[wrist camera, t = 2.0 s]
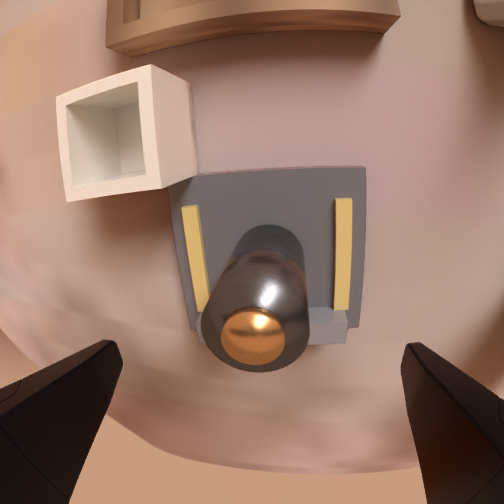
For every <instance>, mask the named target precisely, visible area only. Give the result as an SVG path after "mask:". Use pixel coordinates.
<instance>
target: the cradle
mask: <svg viewBox="0 0 504 504" xmlns="http://www.w3.org/2000/svg"><path fill="white" fill-rule="evenodd" d="M167 190H168V198H169V205H170V212H171V219H172V226H173V233H174V239H175V245H176V251H177V257H178V263H179V269H180V274H181V280H182V285H183V291H184V296H185V301H186V306H187V311H188V316H189V321H190V326H191V329H197V334H198V339H199V343H200V344H206V343H205V341H204V338H203V336H202V332H201V316H202V313H203V310H204V308H205V306H206V304H207V302H208V300H209V298H210V296H211V294H212V292H213V290H214V288H215V286H216V284H217V282H218V280H219V278H220V276H221V274H222V272H223V270H224V268H225V266H226V265H227V263H228V261H229V259H230V257H231V255H232V253H233V251H234V249H235V247H236V245H237V243H238V241H239V240H240V238H241V237H242V236H243V235H244V234H245V233H246V232H247V231H248V230H250V229H252V228H254V227H256V226H260V225H266V224H272V225H277V226H281V227H283V228H286V229H287V230H289V231H290V232H292V233H293V234H294V235H295V236H296V237H297V239H298V240H299V242H300V243H301V245H302V248H303V252H304V261H305V272H306V284H307V296H308V310H309V324H310V336H309V341H308V344H307V345H323V344H344V343H346V336H347V328H357V327H359V319H360V310H361V299H362V288H363V274H364V258H365V236H366V167H363V166H313V167H286V168H267V169H251V170H237V171H225V172H213V173H203V174H197V175H195V176H192V177H190V178H187V179H184V180H182V181H179V182H177V183H174V184H172V185H169V186H167Z"/></svg>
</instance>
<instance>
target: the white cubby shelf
mask: <svg viewBox="0 0 504 504" xmlns="http://www.w3.org/2000/svg"><path fill="white" fill-rule="evenodd" d="M56 111H57V128H58V140H59V150H60V159H61V168H62V175H63V182H64V189H65V195H66V201H67V202H71V201H77V200H83V199H89V198H96V197H102V196H109V195H116V194H123V193H130V192H138V191H146V190H154V189H162V188H164V187H167V186H169V185H172V184H174V183H177V182H179V181H182V180H184V179H187V178H190V177H192V176H195V175H197V174H199V169H198V159H197V149H196V139H195V128H194V116H193V104H192V91H191V84H190V83H189V82H187V81H185V80H183V79H181V78H179V77H177V76H175V75H173V74H171V73H169V72H167V71H165V70H163V69H160V68H158V67H156V66H154V65H152V64H149V65H145V66H141V67H138V68H134V69H131V70H128V71H124V72H121V73H118V74H115V75H112V76H109V77H106V78H103V79H100V80H97V81H94V82H92V83H89V84H86V85H84V86H81V87H79V88H76V89H73V90H71V91H69V92H66V93H64V94H61V95H59V96H57V97H56Z"/></svg>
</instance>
